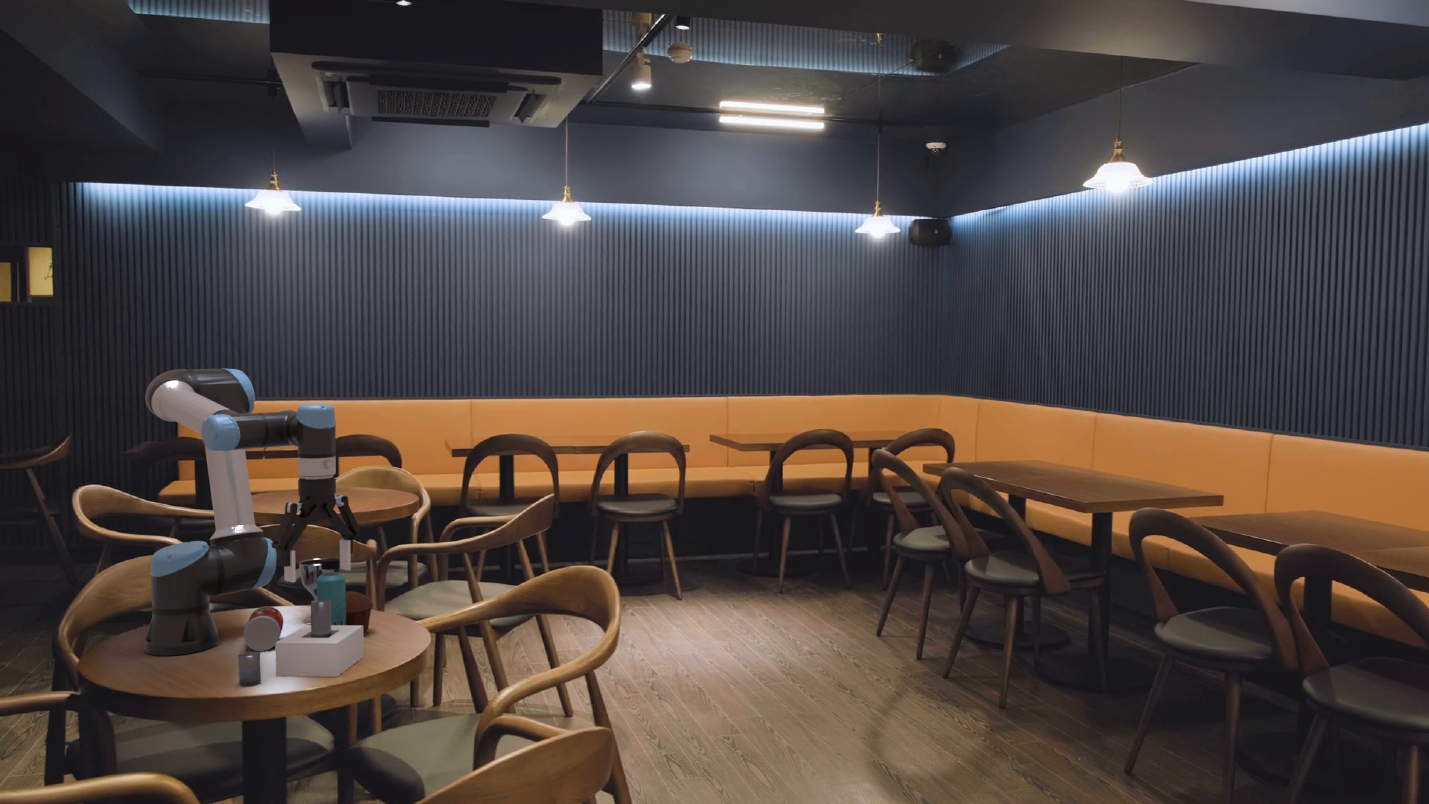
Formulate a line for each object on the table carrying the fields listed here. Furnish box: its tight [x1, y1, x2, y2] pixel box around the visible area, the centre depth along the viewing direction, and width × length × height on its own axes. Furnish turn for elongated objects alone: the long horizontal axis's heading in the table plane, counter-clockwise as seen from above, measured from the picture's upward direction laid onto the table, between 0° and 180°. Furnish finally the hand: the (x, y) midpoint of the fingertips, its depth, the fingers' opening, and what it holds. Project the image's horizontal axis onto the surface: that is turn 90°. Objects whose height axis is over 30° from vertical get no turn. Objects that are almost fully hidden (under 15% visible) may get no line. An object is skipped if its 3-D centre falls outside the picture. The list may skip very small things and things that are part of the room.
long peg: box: [310, 599, 331, 638], centre depth 220 cm, size 4×4×14 cm
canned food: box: [243, 605, 284, 652], centre depth 237 cm, size 8×8×11 cm
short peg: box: [237, 651, 262, 688], centre depth 209 cm, size 4×4×6 cm
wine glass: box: [298, 557, 334, 624], centre depth 258 cm, size 8×8×15 cm
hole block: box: [274, 624, 365, 678], centre depth 220 cm, size 13×14×7 cm
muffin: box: [345, 590, 374, 636], centre depth 246 cm, size 12×11×10 cm
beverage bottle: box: [317, 557, 347, 625], centre depth 236 cm, size 6×7×20 cm
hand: (318, 575), depth 220 cm, fingers open, 13 cm apart
